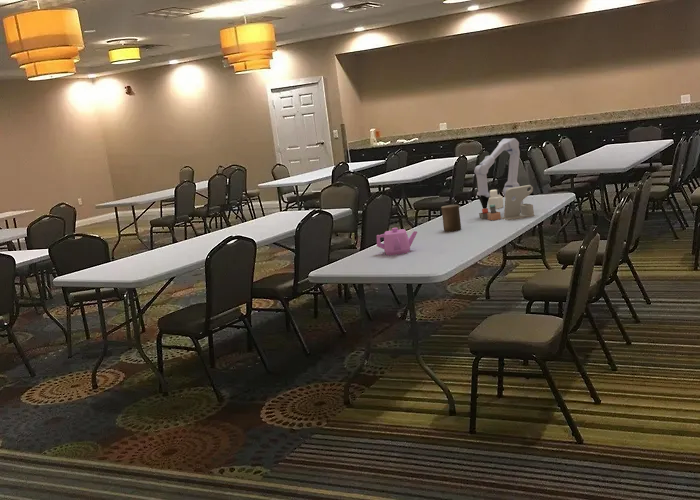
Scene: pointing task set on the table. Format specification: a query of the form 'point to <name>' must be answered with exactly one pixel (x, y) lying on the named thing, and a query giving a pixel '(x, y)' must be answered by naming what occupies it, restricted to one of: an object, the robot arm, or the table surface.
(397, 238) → the teakettle
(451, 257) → the table surface
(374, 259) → the table surface
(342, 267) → the table surface
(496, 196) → the medicine bottle
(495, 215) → the pen cup
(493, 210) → the marker
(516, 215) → the phone holder
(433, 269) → the table surface
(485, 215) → the button base
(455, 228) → the pillar candle
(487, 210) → the button
